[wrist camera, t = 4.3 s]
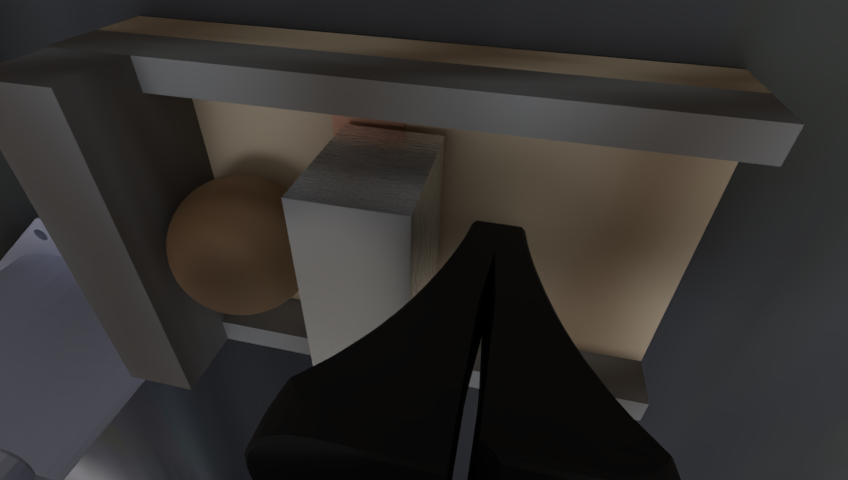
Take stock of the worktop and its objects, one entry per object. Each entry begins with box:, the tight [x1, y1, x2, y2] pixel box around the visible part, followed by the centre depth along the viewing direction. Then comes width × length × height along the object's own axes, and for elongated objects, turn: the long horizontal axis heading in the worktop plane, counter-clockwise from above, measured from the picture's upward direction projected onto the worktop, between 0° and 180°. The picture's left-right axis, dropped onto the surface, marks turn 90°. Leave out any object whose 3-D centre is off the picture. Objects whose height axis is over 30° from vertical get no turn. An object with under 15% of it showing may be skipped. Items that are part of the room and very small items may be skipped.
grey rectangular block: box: [281, 124, 445, 366], centre depth 11 cm, size 2×6×3 cm, turn 179°
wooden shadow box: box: [0, 16, 804, 421], centre depth 12 cm, size 15×9×5 cm, turn 90°
